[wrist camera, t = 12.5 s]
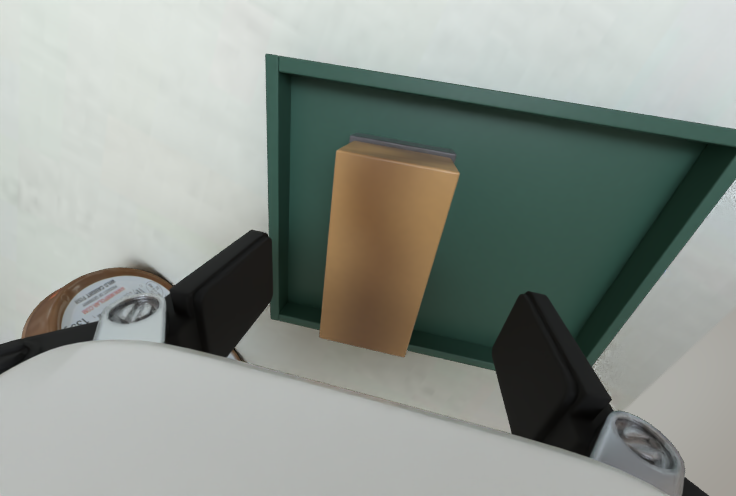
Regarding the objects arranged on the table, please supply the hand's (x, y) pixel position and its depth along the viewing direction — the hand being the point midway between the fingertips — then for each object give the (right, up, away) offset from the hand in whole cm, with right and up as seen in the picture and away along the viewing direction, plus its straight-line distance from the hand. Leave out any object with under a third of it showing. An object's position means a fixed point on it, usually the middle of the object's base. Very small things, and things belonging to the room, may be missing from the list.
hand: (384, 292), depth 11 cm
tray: (+4, +2, +6) cm, 8 cm away
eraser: (0, +3, +6) cm, 7 cm away
